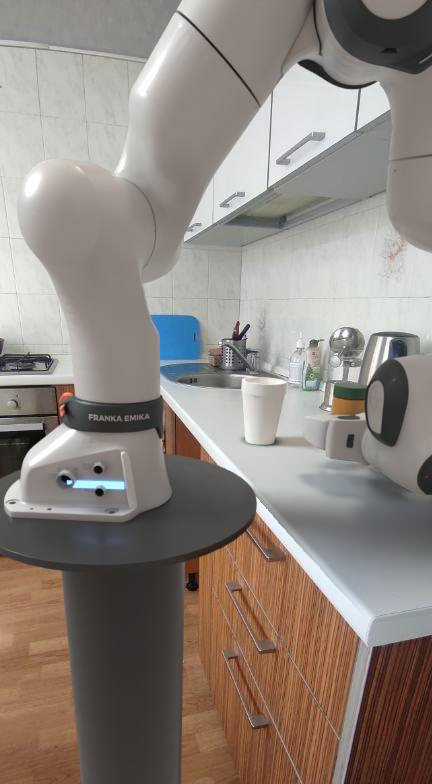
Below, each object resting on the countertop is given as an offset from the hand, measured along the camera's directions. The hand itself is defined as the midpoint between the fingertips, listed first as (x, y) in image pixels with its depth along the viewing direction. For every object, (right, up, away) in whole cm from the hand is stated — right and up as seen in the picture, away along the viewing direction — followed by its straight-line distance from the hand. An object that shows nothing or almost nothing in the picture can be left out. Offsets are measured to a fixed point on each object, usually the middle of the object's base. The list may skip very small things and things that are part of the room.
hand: (344, 418), depth 85 cm
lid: (0, +5, -3) cm, 6 cm away
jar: (0, -5, +1) cm, 5 cm away
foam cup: (-14, -3, +16) cm, 22 cm away
